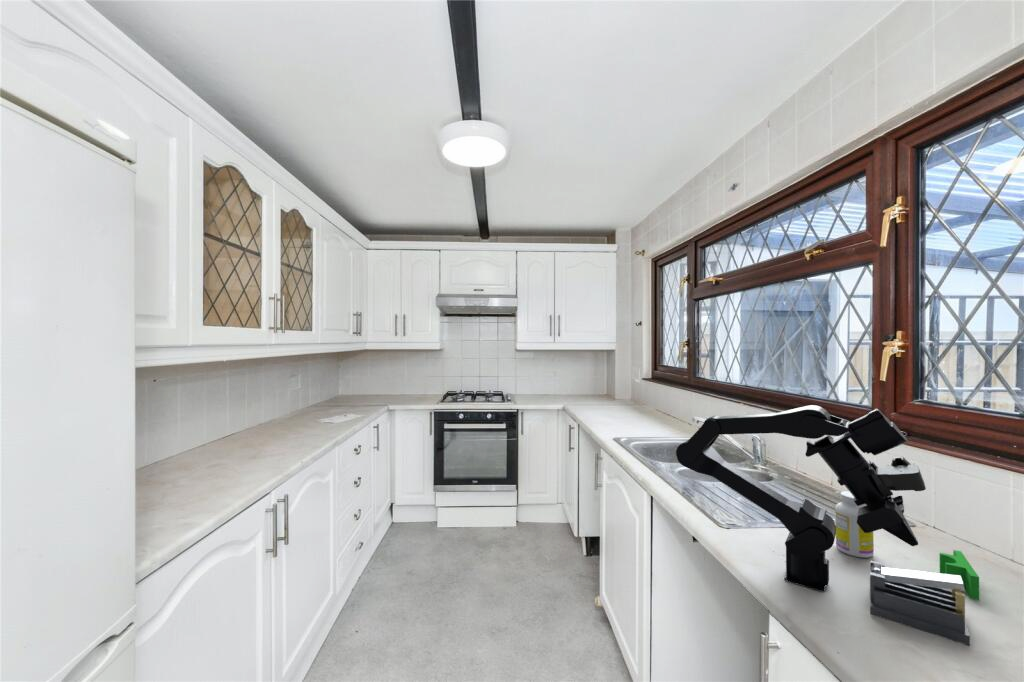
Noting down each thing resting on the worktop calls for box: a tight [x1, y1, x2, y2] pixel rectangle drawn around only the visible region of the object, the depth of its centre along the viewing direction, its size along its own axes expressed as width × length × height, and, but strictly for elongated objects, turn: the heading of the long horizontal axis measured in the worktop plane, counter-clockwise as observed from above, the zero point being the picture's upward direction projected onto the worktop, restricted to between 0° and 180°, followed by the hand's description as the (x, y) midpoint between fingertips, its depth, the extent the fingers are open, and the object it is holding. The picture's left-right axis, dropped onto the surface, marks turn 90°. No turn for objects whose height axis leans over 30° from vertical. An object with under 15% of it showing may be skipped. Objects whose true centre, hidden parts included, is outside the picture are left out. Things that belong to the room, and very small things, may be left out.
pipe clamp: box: [939, 549, 980, 601], centre depth 83 cm, size 11×4×5 cm, turn 145°
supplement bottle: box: [834, 490, 875, 559], centre depth 96 cm, size 7×7×13 cm
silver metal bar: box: [870, 564, 966, 592], centre depth 74 cm, size 12×4×2 cm, turn 49°
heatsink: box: [869, 560, 971, 646], centre depth 74 cm, size 12×10×7 cm
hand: (915, 544), depth 75 cm, fingers closed
